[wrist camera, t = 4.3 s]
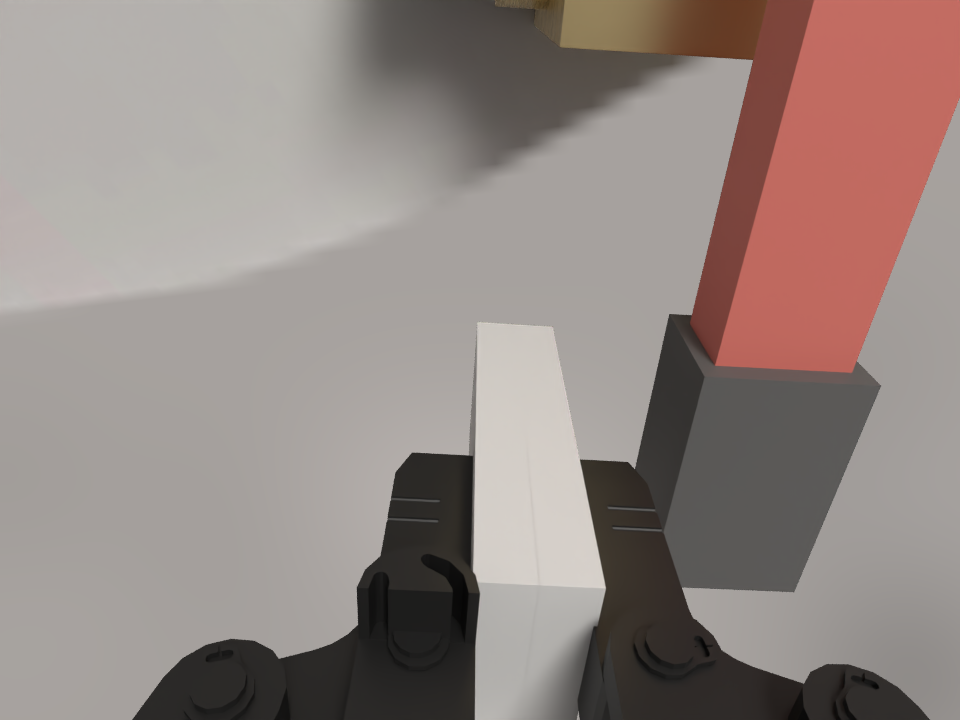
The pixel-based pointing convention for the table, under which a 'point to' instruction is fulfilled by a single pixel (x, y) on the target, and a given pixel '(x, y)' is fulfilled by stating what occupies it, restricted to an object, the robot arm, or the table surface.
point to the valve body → (651, 25)
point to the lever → (795, 284)
